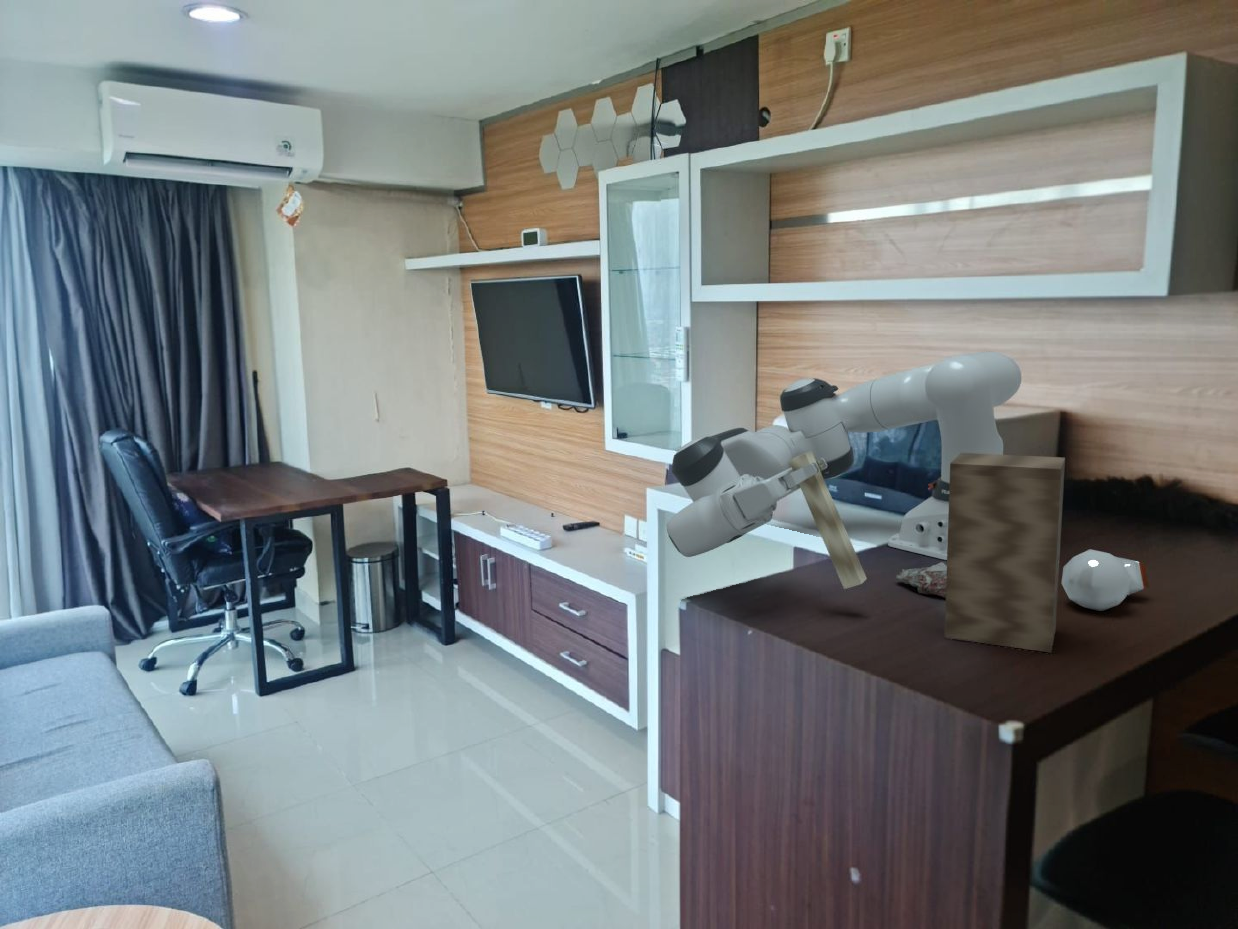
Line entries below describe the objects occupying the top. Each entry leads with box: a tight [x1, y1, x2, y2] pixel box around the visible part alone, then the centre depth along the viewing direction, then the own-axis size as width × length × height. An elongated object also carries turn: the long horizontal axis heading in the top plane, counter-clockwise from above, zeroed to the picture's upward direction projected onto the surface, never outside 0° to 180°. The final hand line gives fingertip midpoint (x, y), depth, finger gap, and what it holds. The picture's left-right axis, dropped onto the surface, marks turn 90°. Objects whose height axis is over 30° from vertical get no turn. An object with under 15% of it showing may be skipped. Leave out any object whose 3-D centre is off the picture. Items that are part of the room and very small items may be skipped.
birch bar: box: [789, 451, 868, 590], centre depth 136 cm, size 22×3×3 cm
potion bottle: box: [1061, 548, 1149, 612], centre depth 137 cm, size 9×10×15 cm
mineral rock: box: [896, 561, 947, 599], centre depth 146 cm, size 15×8×4 cm, turn 26°
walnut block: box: [944, 453, 1066, 654], centre depth 125 cm, size 14×10×26 cm
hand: (820, 465), depth 136 cm, fingers closed on birch bar, 3 cm apart
